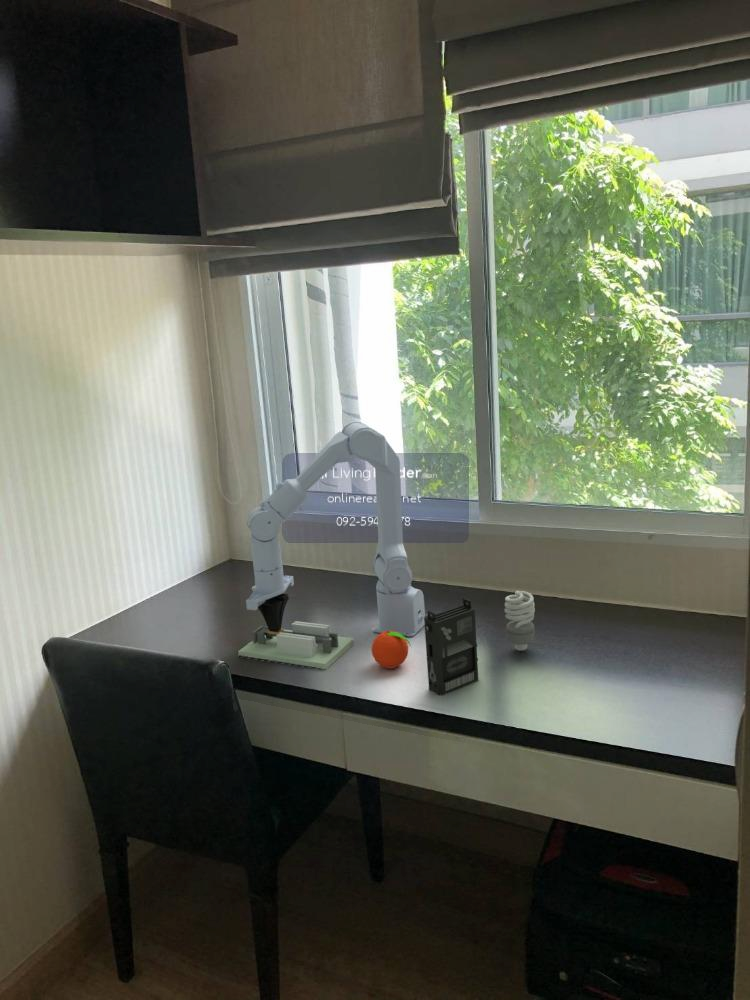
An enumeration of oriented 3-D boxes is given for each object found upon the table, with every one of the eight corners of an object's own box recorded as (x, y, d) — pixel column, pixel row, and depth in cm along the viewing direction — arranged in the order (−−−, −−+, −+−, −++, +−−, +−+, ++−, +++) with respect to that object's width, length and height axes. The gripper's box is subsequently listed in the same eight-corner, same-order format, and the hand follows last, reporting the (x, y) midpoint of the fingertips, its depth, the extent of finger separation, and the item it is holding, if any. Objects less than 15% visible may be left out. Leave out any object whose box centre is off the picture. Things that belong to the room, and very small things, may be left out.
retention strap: (334, 640, 159) (334, 634, 159) (329, 644, 157) (328, 638, 157) (264, 631, 166) (264, 625, 166) (259, 635, 164) (258, 629, 164)
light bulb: (533, 658, 151) (531, 598, 148) (503, 656, 153) (501, 596, 150) (538, 645, 156) (536, 587, 153) (509, 643, 158) (507, 586, 155)
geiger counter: (467, 669, 148) (463, 593, 145) (483, 678, 145) (480, 600, 141) (422, 687, 143) (416, 609, 139) (438, 697, 139) (432, 616, 135)
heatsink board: (354, 643, 163) (352, 622, 162) (325, 669, 153) (323, 647, 152) (271, 633, 172) (268, 612, 171) (238, 656, 161) (236, 635, 160)
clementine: (420, 661, 153) (418, 626, 151) (405, 677, 147) (403, 641, 145) (382, 656, 157) (379, 622, 155) (366, 671, 151) (363, 636, 149)
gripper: (270, 554, 168) (277, 614, 171) (230, 577, 155) (238, 642, 159) (299, 556, 165) (305, 618, 168) (260, 580, 152) (268, 646, 156)
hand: (275, 630), depth 163 cm, fingers closed, pressing on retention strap
